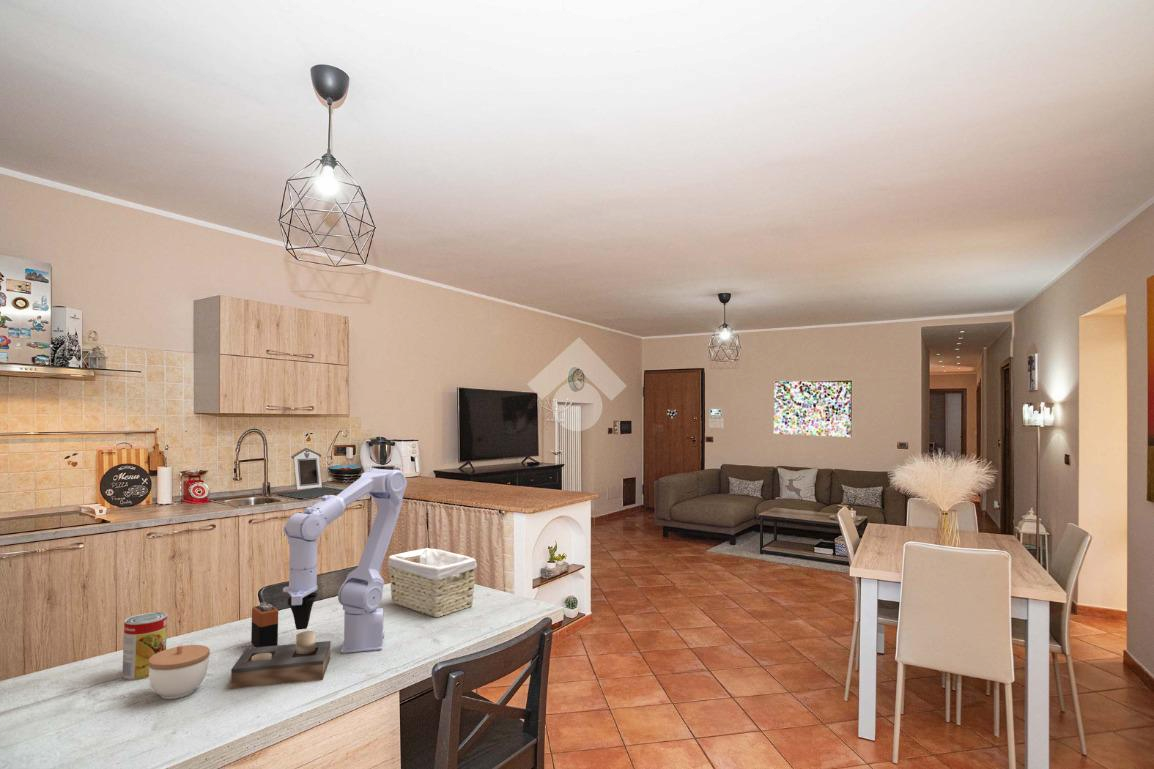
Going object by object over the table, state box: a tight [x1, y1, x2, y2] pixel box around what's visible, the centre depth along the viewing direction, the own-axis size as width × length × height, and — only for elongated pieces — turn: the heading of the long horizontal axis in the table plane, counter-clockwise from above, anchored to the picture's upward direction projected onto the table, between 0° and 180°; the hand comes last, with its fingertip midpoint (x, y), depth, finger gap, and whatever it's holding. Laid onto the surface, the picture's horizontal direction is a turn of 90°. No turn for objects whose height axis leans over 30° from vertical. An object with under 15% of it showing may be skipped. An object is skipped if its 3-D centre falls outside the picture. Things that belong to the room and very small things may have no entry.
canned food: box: [121, 611, 168, 681], centre depth 137 cm, size 8×8×12 cm
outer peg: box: [251, 653, 272, 661], centre depth 135 cm, size 4×4×4 cm
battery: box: [250, 602, 279, 648], centre depth 153 cm, size 4×7×10 cm, turn 44°
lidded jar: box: [148, 644, 211, 700], centre depth 127 cm, size 11×11×9 cm
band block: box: [230, 640, 332, 690], centre depth 137 cm, size 18×12×4 cm, turn 105°
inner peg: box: [295, 630, 317, 654], centre depth 138 cm, size 4×4×4 cm
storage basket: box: [387, 547, 478, 618], centre depth 185 cm, size 24×16×15 cm
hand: (302, 628), depth 138 cm, fingers closed
